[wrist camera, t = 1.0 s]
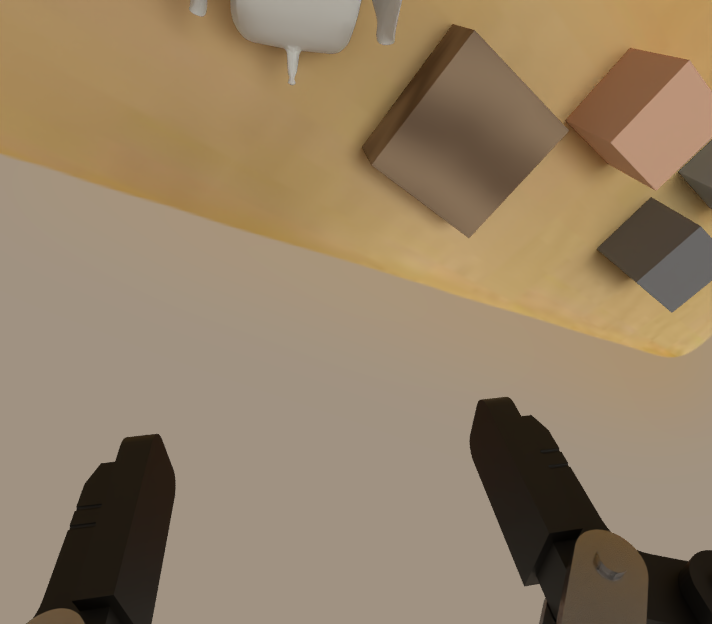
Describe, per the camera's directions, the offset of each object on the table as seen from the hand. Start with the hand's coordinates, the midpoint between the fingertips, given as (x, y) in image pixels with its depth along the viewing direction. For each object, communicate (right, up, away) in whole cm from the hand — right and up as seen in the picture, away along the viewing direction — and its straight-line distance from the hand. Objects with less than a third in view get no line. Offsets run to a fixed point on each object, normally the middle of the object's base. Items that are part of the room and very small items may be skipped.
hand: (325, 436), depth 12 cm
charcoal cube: (+25, +9, +28) cm, 39 cm away
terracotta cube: (+19, +17, +21) cm, 33 cm away
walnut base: (+7, +16, +20) cm, 27 cm away
